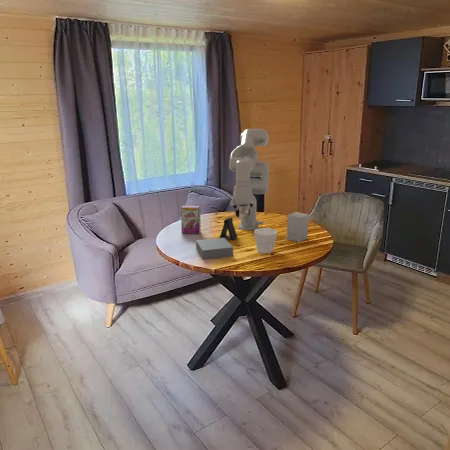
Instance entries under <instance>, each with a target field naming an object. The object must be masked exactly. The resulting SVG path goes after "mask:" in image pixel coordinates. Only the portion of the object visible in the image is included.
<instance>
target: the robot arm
mask: <svg viewBox="0 0 450 450" xmlns="http://www.w3.org/2000/svg"><path fill="white" fill-rule="evenodd" d="M269 136H270V135H269V134H268V131H267V130H266V129H264V128H248V129H247V128H246V129H245V130H244V131H243V132H242V133H241V134H240V136H239V137H240V145H237V147H236V148H235V149H233V150H232V151H231V153H230V157H229V161H228V167H229V170H230V171H232V172H235V185H234V186H233V193H232V199H231V201H230V202H229V205H230V206H231V207H232V208H233V209H235V216H236V218H238V217H239V205H244V204H247V205H248V206H249V213H248V219H240V224H239V225H238V228H239V229H240V230H243V231H254V230H256V229H259V225H264V221H263V220H257V198H256V197H255V195H266V194H268V192H269V189H270V188H269V184H270V183H269V182H270V165H269V162H267V161H264V160H263V161H262V160H261V161H259V159H258V158H259V153H258V151H257V150H256V147H265V146H267V145H268V144H269V140H270V137H269ZM257 177H259V178H257Z"/></svg>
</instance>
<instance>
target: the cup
mask: <svg viewBox="0 0 450 450" xmlns="http://www.w3.org/2000/svg"><path fill="white" fill-rule="evenodd" d="M253 233H254V234H253V235H254V240H255V242H256V251H257V253H259V254H263V253H264V254H265V253H268V254H272V253H273V252H274V247H275V242H276V240H277V236H278V231H277V229H274V228H270V227H261V228H259V227H258V229H255V230H253ZM271 252H272V253H271ZM265 255H266V254H265Z"/></svg>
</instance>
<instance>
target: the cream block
mask: <svg viewBox="0 0 450 450" xmlns="http://www.w3.org/2000/svg"><path fill="white" fill-rule="evenodd" d="M248 213H249V206H248V205H247V204H244V205H239V217H237V218H238V219H239V220H241V219H248Z"/></svg>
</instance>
